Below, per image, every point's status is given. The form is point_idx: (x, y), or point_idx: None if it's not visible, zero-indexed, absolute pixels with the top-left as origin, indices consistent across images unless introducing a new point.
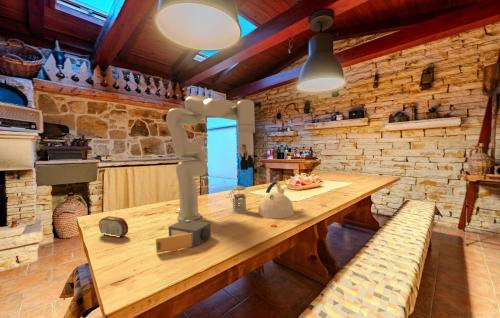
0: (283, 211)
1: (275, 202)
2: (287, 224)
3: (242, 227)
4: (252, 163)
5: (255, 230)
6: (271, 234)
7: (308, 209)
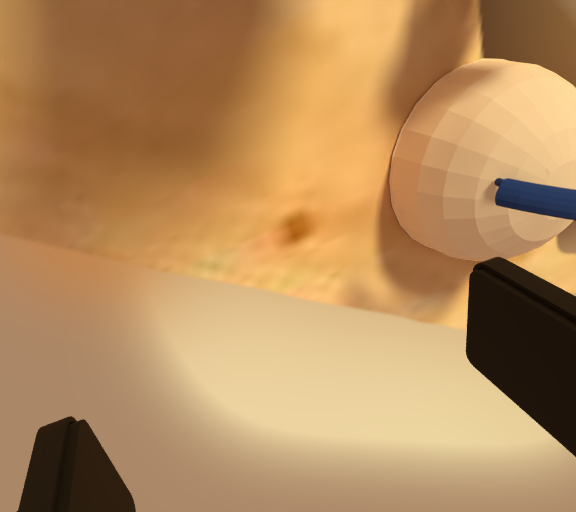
0: (425, 237)
1: (463, 212)
2: (330, 272)
3: (219, 81)
4: (522, 404)
5: (209, 172)
6: (195, 261)
7: None
